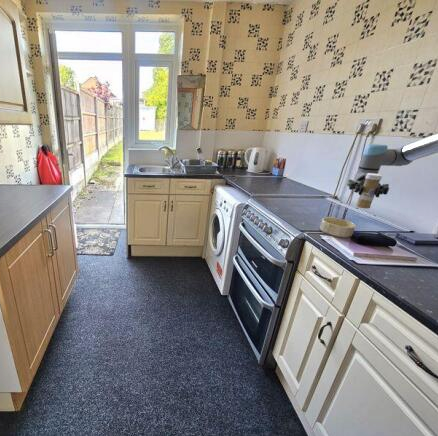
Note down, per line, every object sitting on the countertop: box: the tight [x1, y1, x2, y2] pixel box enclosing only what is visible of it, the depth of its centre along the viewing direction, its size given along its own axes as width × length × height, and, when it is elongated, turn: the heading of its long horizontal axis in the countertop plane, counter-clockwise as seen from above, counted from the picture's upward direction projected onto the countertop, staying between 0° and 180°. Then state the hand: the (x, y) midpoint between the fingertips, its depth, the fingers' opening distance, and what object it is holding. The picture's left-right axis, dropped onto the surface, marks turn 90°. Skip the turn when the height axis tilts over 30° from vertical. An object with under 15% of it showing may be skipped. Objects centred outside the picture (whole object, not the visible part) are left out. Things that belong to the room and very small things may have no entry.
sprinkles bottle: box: [355, 173, 383, 210], centre depth 97 cm, size 5×5×13 cm
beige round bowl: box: [319, 216, 357, 238], centre depth 111 cm, size 12×12×5 cm
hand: (369, 192), depth 92 cm, fingers closed on sprinkles bottle, 4 cm apart
